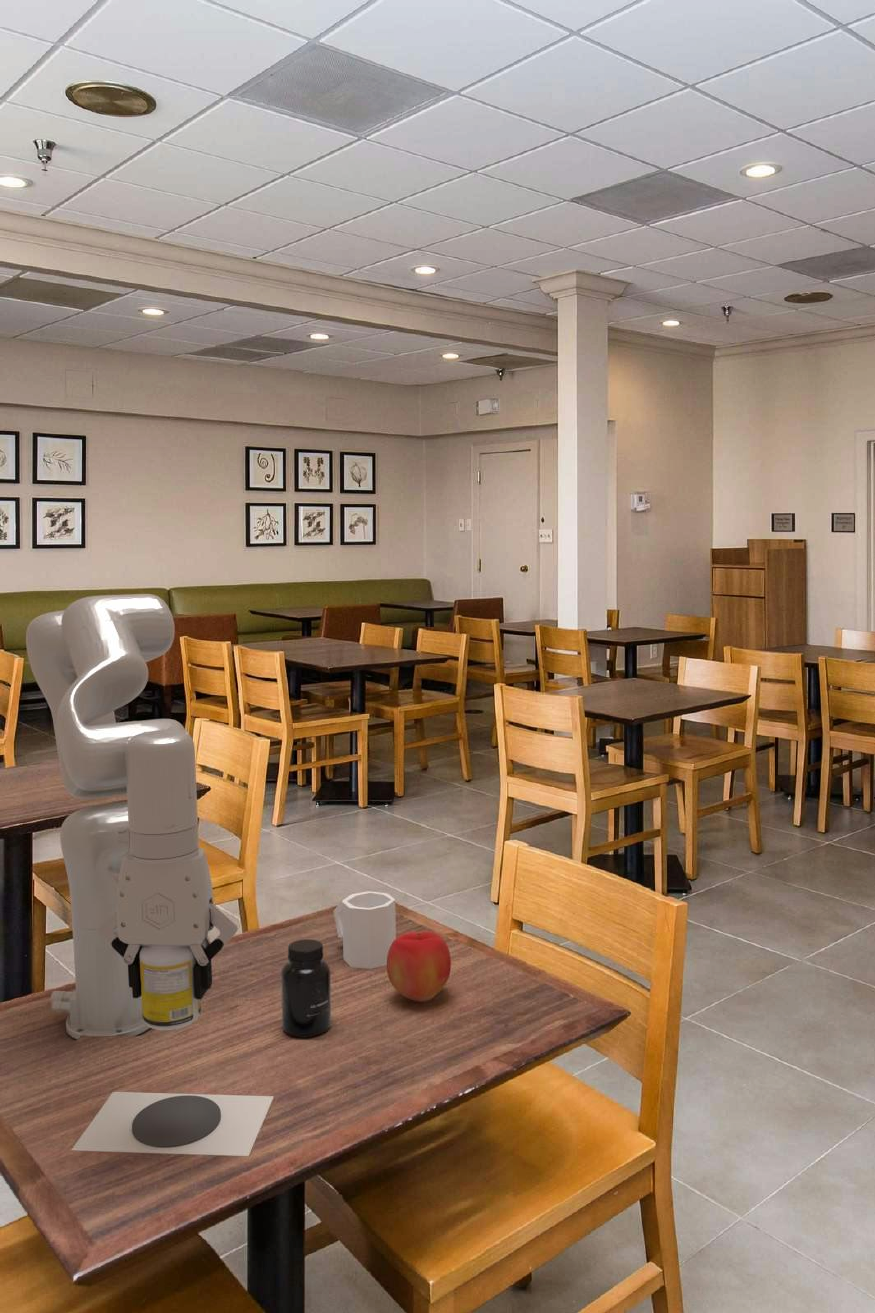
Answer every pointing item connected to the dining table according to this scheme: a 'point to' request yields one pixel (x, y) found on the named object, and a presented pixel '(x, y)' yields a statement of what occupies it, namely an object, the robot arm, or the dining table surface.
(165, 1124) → the pad
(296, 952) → the supplement bottle
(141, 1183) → the dining table surface
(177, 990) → the pill bottle
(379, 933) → the mug
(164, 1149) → the board
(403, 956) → the apple
